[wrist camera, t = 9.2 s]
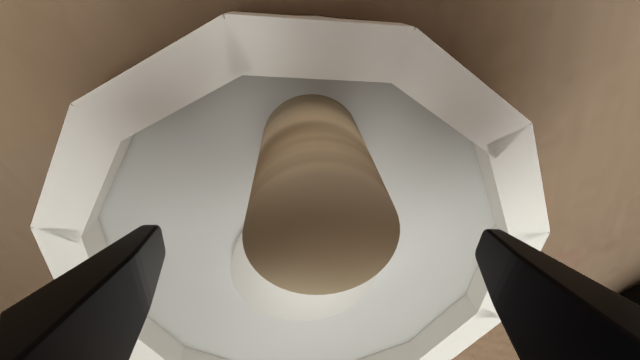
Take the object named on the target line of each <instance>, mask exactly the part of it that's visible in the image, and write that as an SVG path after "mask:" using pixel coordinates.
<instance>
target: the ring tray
mask: <svg viewBox="0 0 640 360" xmlns="http://www.w3.org/2000/svg"><path fill="white" fill-rule="evenodd" d="M306 94H317V95H323V96H327V97H329V98H332V99H334V100H336V101H337V102H339V103H340V104H342V105H343V106H344V107H345V108H346V109H347V110H348V111H349V112H350V114H351V115H352V117H353V119H354V120H355V123H356V125H357V127H358V129H359V131H360V133H361V136H362V138H363V140H364V142H365V144H366V146H367V148H368V151H369V153H370V155H371V157H372V159H373V161H374V163H375V166H376V168H377V170H378V172H379V174H380V176H381V178H382V181H383V183H384V185H385V187H386V189H387V191H388V193H389V196H390V198H391V200H392V202H393V204H394V206H395V209H396V211H397V214H398V217H399V222H400V236H399V242H398V245H397V248H396V250H395V252H394V254H393V256H392V258H391V259H390V261H389V262H388V263H387V265H386V266H385V267H384V268H383V269H382V270H381V271H380V272H379V273H378V274H377V275H375V276H374V277H373V278H371V279H370V280H368V281H367V282H365V283H363V284H361V285H359V286H357V287H355V288H352V289H349V290H346V291H343V292H339V293H334V294H327V295H306V294H299V293H295V292H290V291H287V290H285V289H282V288H280V287H277V286H275V285H273V284H272V283H270V282H268V281H267V280H266V279H264V278H263V277H262V276H261V275H260V274H259V273H258V272H257V271H256V270H255V269H254V268H253V267H252V265H251V264H250V262H249V260H248V258H247V256H246V254H245V251H244V248H243V241H242V231H243V226H244V221H245V216H246V211H247V207H248V202H249V198H250V193H251V188H252V184H253V179H254V174H255V170H256V165H257V160H258V156H259V151H260V146H261V142H262V137H263V132H264V128H265V125H266V122H267V120H268V118H269V117H270V115H271V114H272V112H273V111H274V110H275V109H276V108H277V107H278V106H279V105H281V104H282V103H283V102H285V101H287V100H289V99H291V98H293V97H296V96H300V95H306ZM142 225H158V226H160V228H161V230H162V235H163V240H164V244H165V250H166V253H165V259H164V262H163V266H162V269H161V273H160V276H159V280H158V283H157V287H156V290H155V294H154V297H153V301H152V304H151V307H150V310H149V313H148V315H147V318H146V320H145V323H144V325H143V327H142V330H141V332H140V335H139V337H138V339H137V342H136V344H135V347H134V349H133V351H132V354H131V356H130V359H129V360H451V359H453V358H454V357H455V356H457V355H458V354H459V353H461V352H462V351H463V350H464V349H466V348H467V347H468V346H470V345H471V344H472V343H474V342H475V341H476V340H478V339H479V338H480V337H482V336H483V335H484V334H486V333H487V332H488V331H490V330H491V329H492V328H494V327H495V326H496V325H498V324H499V323H500V322H501V320H500V318H499V316H498V314H497V312H496V310H495V308H494V306H493V303H492V301H491V298H490V296H489V293H488V290H487V288H486V285H485V282H484V280H483V277H482V274H481V272H480V269H479V266H478V264H477V261H476V257H475V251H476V248H477V245H478V243H479V240H480V238H481V235H482V233H483V231H484V230H486V229H500V230H503V231H504V232H506V233H508V234H510V235H512V236H513V237H515V238H517V239H519V240H521V241H523V242H524V243H526V244H528V245H530V246H532V247H534V248H535V249H537V250H539V251H541V249H542V247H543V245H544V243H545V241H546V239H547V237H548V236H549V234H550V233H549V232H550V228H549V222H548V216H547V210H546V204H545V198H544V191H543V185H542V179H541V173H540V167H539V161H538V155H537V149H536V143H535V136H534V130H533V124H532V123H531V121H529V120H528V119H527V118H526V117H525V116H523V115H522V114H521V113H520V112H519V111H517V110H516V109H515V108H514V107H512V106H511V105H510V104H509V103H508V102H506V101H505V100H504V99H503V98H501V97H500V96H499V95H498V94H497V93H495V92H494V91H493V90H492V89H491V88H489V87H488V86H487V85H486V84H484V83H483V82H482V81H481V80H480V79H478V78H477V77H476V76H475V75H474V74H472V73H471V72H470V71H469V70H467V69H466V68H465V67H464V66H463V65H461V64H460V63H459V62H458V61H457V60H455V59H454V58H453V57H452V56H450V55H449V54H448V53H447V52H446V51H444V50H443V49H442V48H441V47H439V46H438V45H437V44H436V43H435V42H433V41H432V40H431V39H430V38H429V37H427V36H426V35H425V34H424V33H422V32H421V31H420V30H419V29H418V28H416V27H414V26H410V25H407V24H404V23H395V22H380V21H366V20H351V19H338V18H331V17H324V16H293V15H279V14H264V13H250V12H235V11H231V12H227V13H224V14H222V15H220V16H218V17H216V18H215V19H213V20H211V21H210V22H208V23H206V24H205V25H203V26H201V27H199V28H198V29H196V30H194V31H193V32H191V33H189V34H188V35H186V36H184V37H182V38H181V39H179V40H177V41H176V42H174V43H172V44H171V45H169V46H167V47H165V48H164V49H162V50H160V51H159V52H157V53H155V54H153V55H152V56H150V57H148V58H147V59H145V60H143V61H142V62H140V63H138V64H136V65H135V66H133V67H131V68H130V69H128V70H126V71H125V72H123V73H121V74H119V75H118V76H116V77H114V78H113V79H111V80H109V81H108V82H106V83H104V84H102V85H101V86H99V87H97V88H96V89H94V90H92V91H91V92H89V93H87V94H85V95H84V96H82V97H80V98H79V99H77V100H75V101H73V102H72V104H70V106H69V109H68V112H67V115H66V118H65V121H64V124H63V127H62V130H61V133H60V137H59V140H58V143H57V146H56V149H55V152H54V155H53V158H52V161H51V164H50V167H49V170H48V174H47V177H46V180H45V183H44V186H43V189H42V192H41V195H40V198H39V201H38V204H37V207H36V211H35V214H34V217H33V220H32V223H31V226H30V227H31V230H32V233H33V235H34V237H35V239H36V241H37V243H38V246H39V248H40V250H41V252H42V254H43V257H44V259H45V261H46V263H47V265H48V268H49V270H50V272H51V274H52V276H53V279H56V278H58V277H59V276H61V275H63V274H64V273H66V272H67V271H69V270H71V269H72V268H74V267H75V266H77V265H79V264H80V263H82V262H83V261H85V260H87V259H88V258H90V257H91V256H93V255H95V254H96V253H98V252H99V251H101V250H103V249H104V248H106V247H108V246H109V245H111V244H112V243H114V242H116V241H117V240H119V239H120V238H122V237H124V236H125V235H127V234H128V233H130V232H132V231H133V230H135V229H136V228H138V227H140V226H142Z"/></svg>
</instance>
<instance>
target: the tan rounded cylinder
mask: <svg viewBox="0 0 640 360" xmlns="http://www.w3.org/2000/svg"><path fill="white" fill-rule="evenodd" d="M399 236H400V222H399V217H398V214H397V211H396V209H395V206H394V204H393V202H392V200H391V198H390V196H389V193H388V191H387V189H386V187H385V185H384V183H383V181H382V178H381V176H380V174H379V172H378V170H377V168H376V166H375V163H374V161H373V159H372V157H371V155H370V153H369V151H368V148H367V146H366V144H365V142H364V140H363V138H362V136H361V133H360V131H359V129H358V127H357V125H356V123H355V120H354V119H353V117H352V115H351V114H350V112H349V111H348V110H347V109H346V108H345V107H344V106H343V105H342V104H340V103H339V102H337V101H336V100H334V99H332V98H329V97H327V96H323V95H317V94H306V95H300V96H296V97H293V98H291V99H289V100H287V101H285V102H283V103H282V104H281V105H279V106H278V107H277V108H276V109H275V110H274V111H273V112H272V114H271V115H270V117H269V118H268V120H267V122H266V125H265V128H264V132H263V137H262V142H261V146H260V151H259V156H258V160H257V165H256V170H255V174H254V179H253V184H252V188H251V193H250V198H249V202H248V207H247V211H246V216H245V221H244V226H243V231H242V241H243V248H244V251H245V254H246V256H247V258H248V260H249V262H250V264H251V265H252V267H253V268H254V269H255V270H256V271H257V272H258V273H259V274H260V275H261V276H262V277H263V278H264V279H266V280H267V281H268V282H270V283H272V284H273V285H275V286H277V287H280V288H282V289H285V290H287V291H290V292H295V293H299V294H306V295H327V294H334V293H339V292H343V291H346V290H349V289H352V288H355V287H357V286H359V285H361V284H363V283H365V282H367V281H368V280H370V279H371V278H373V277H374V276H375V275H377V274H378V273H379V272H380V271H381V270H382V269H383V268H384V267H385V266H386V265H387V263H388V262H389V261H390V259H391V258H392V256H393V254H394V252H395V250H396V248H397V245H398V242H399Z"/></svg>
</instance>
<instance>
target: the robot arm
mask: <svg viewBox="0 0 640 360" xmlns="http://www.w3.org/2000/svg"><path fill="white" fill-rule="evenodd" d="M165 253H166V250H165V244H164V240H163V235H162V230H161V228H160V226H158V225H142V226H140V227H138V228H136V229H135V230H133V231H132V232H130V233H128V234H127V235H125V236H124V237H122V238H120V239H119V240H117V241H116V242H114V243H112V244H111V245H109V246H108V247H106V248H104V249H103V250H101V251H99V252H98V253H96V254H95V255H93V256H91V257H90V258H88V259H87V260H85V261H83V262H82V263H80V264H79V265H77V266H75V267H74V268H72V269H71V270H69V271H67V272H66V273H64V274H63V275H61V276H59V277H58V278H56V279H54V280H53V281H51V282H50V283H48V284H46V285H45V286H43V287H42V288H40V289H38V290H37V291H35V292H34V293H32V294H30V295H29V296H27V297H26V298H24V299H22V300H21V301H19V302H17V303H16V304H14V305H13V306H11V307H9V308H8V309H6V310H5V311H3V312H2V313H1V314H0V360H129V359H130V356H131V354H132V351H133V349H134V347H135V344H136V342H137V339H138V337H139V335H140V332H141V330H142V327H143V325H144V323H145V320H146V318H147V315H148V313H149V310H150V307H151V304H152V301H153V297H154V294H155V290H156V287H157V283H158V280H159V276H160V273H161V269H162V266H163V262H164V259H165ZM475 257H476V261H477V264H478V266H479V269H480V272H481V274H482V277H483V280H484V282H485V285H486V288H487V290H488V293H489V296H490V298H491V301H492V303H493V306H494V308H495V310H496V312H497V314H498V316H499V318H500V320H501V322H502V324H503V326H504V328H505V330H506V333H507V335H508V337H509V339H510V341H511V343H512V345H513V347H514V349H515V351H516V353H517V355H518V357H519V359H520V360H640V306H639V305H638V304H636V303H634V302H632V301H630V300H628V299H627V298H625V297H623V296H621V295H619V294H617V293H616V292H614V291H612V290H610V289H608V288H607V287H605V286H603V285H601V284H599V283H597V282H596V281H594V280H592V279H590V278H588V277H586V276H585V275H583V274H581V273H579V272H577V271H576V270H574V269H572V268H570V267H568V266H566V265H565V264H563V263H561V262H559V261H557V260H555V259H554V258H552V257H550V256H548V255H546V254H544V253H543V252H541V251H539V250H537V249H535V248H534V247H532V246H530V245H528V244H526V243H524V242H523V241H521V240H519V239H517V238H515V237H513V236H512V235H510V234H508V233H506V232H504V231H503V230H500V229H486V230H484V231H483V233H482V235H481V238H480V240H479V243H478V245H477V248H476V251H475Z"/></svg>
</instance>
